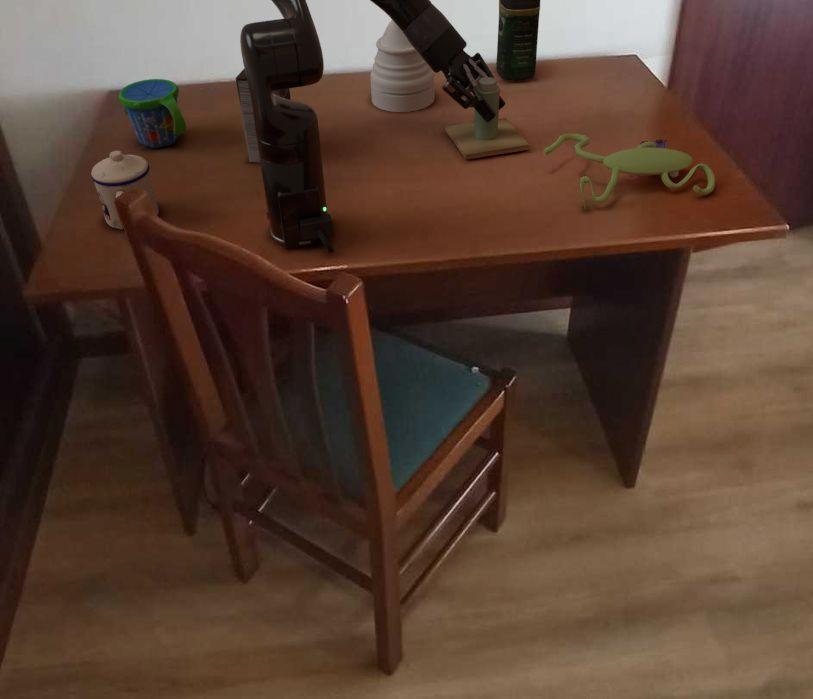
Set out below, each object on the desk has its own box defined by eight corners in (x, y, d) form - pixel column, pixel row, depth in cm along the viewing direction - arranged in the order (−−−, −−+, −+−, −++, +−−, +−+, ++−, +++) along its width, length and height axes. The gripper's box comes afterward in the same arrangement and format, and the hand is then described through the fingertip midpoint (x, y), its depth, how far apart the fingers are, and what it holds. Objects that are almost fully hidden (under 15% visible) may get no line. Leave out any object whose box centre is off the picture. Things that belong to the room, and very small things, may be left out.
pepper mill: (501, 138, 159) (503, 83, 152) (478, 141, 158) (479, 86, 151) (492, 128, 162) (495, 74, 156) (470, 131, 161) (471, 77, 155)
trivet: (528, 151, 158) (529, 144, 157) (465, 161, 155) (465, 154, 154) (505, 124, 167) (505, 117, 166) (445, 133, 164) (445, 126, 163)
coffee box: (264, 140, 165) (252, 56, 154) (297, 142, 163) (286, 58, 153) (248, 162, 158) (234, 77, 147) (281, 165, 157) (270, 79, 146)
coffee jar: (539, 81, 181) (545, -10, 170) (502, 84, 181) (505, -8, 169) (528, 64, 189) (534, -25, 177) (493, 67, 188) (496, -23, 176)
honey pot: (423, 115, 171) (421, 22, 159) (362, 108, 174) (356, 17, 163) (442, 89, 180) (441, 0, 169) (383, 83, 183) (379, -5, 172)
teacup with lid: (107, 206, 147) (88, 143, 140) (161, 200, 148) (146, 137, 141) (100, 244, 138) (80, 178, 130) (158, 237, 139) (142, 171, 132)
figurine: (536, 161, 155) (538, 132, 151) (680, 146, 157) (685, 117, 153) (566, 213, 141) (569, 183, 137) (723, 197, 143) (730, 166, 139)
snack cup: (114, 137, 167) (101, 86, 161) (161, 119, 173) (150, 70, 166) (157, 163, 159) (145, 110, 152) (206, 143, 164) (196, 92, 158)
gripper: (436, 37, 160) (496, 109, 164) (404, 66, 151) (468, 141, 154) (463, 11, 155) (524, 86, 159) (432, 39, 145) (497, 118, 149)
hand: (496, 113), depth 157 cm, fingers closed on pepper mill, 4 cm apart
